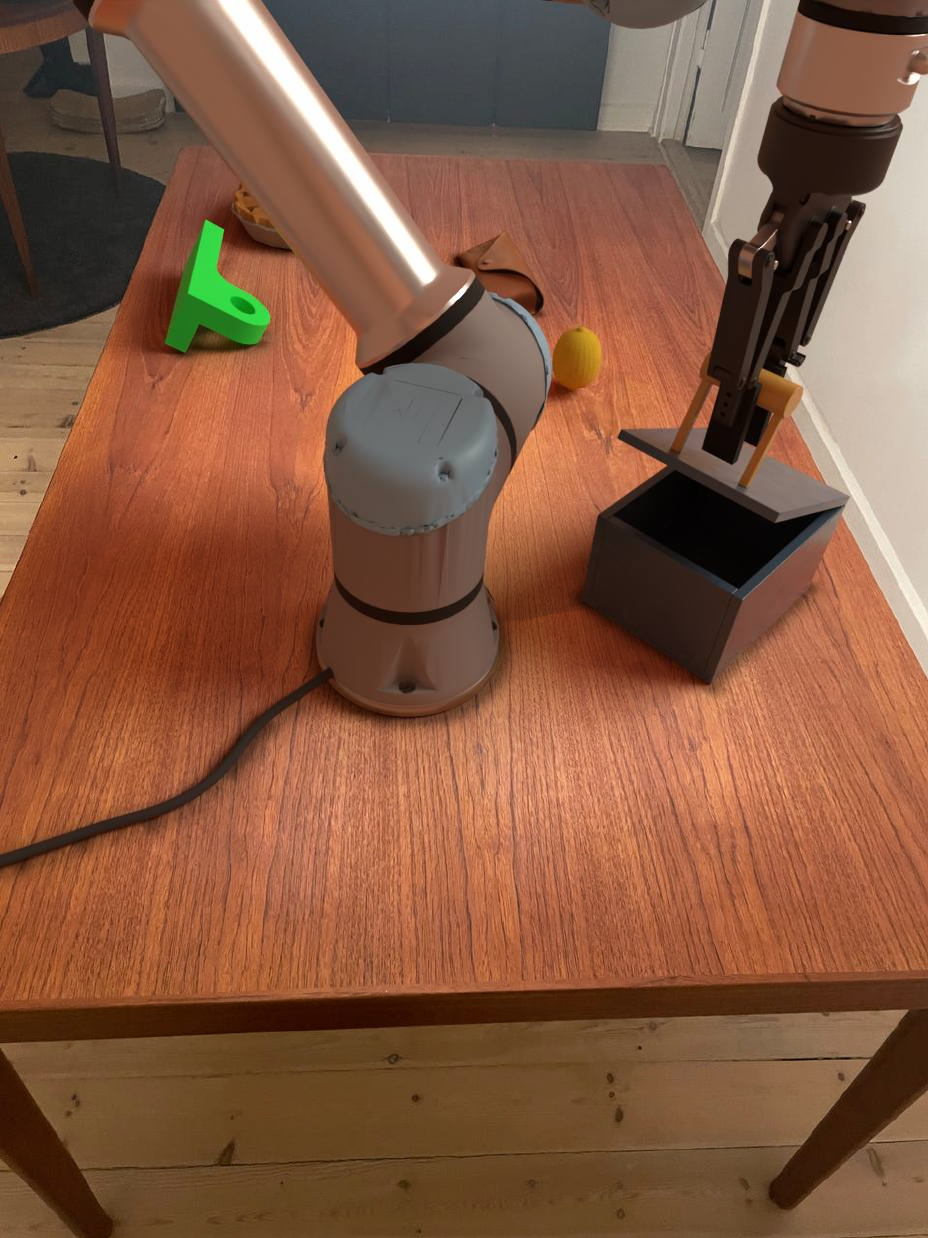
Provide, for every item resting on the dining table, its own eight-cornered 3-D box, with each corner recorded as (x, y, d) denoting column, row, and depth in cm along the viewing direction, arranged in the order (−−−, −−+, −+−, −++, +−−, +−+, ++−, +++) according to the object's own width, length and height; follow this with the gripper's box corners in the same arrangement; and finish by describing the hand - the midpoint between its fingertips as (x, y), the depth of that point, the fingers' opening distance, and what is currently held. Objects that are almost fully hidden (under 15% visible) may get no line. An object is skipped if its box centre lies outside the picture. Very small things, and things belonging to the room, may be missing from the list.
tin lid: (774, 523, 63) (837, 406, 60) (616, 438, 70) (664, 327, 66) (845, 504, 77) (900, 408, 73) (708, 435, 83) (752, 343, 79)
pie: (376, 260, 127) (375, 224, 123) (218, 251, 126) (213, 214, 123) (389, 199, 142) (389, 165, 138) (249, 190, 141) (245, 156, 138)
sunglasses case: (451, 252, 129) (477, 210, 125) (491, 275, 132) (517, 234, 129) (481, 314, 117) (511, 269, 113) (523, 336, 120) (553, 294, 117)
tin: (710, 685, 75) (742, 600, 68) (580, 600, 82) (597, 514, 75) (808, 588, 84) (846, 504, 77) (684, 518, 91) (709, 435, 83)
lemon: (561, 372, 109) (570, 309, 103) (603, 387, 107) (614, 323, 101) (540, 393, 105) (548, 329, 100) (583, 408, 104) (593, 344, 98)
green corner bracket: (243, 381, 110) (268, 334, 106) (164, 344, 106) (187, 293, 102) (254, 301, 124) (277, 257, 120) (184, 265, 120) (206, 218, 116)
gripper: (832, 152, 46) (716, 513, 63) (958, 97, 55) (826, 428, 71) (709, 112, 50) (629, 465, 66) (845, 66, 58) (744, 390, 75)
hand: (731, 445), depth 69 cm, fingers closed on tin lid, 3 cm apart
